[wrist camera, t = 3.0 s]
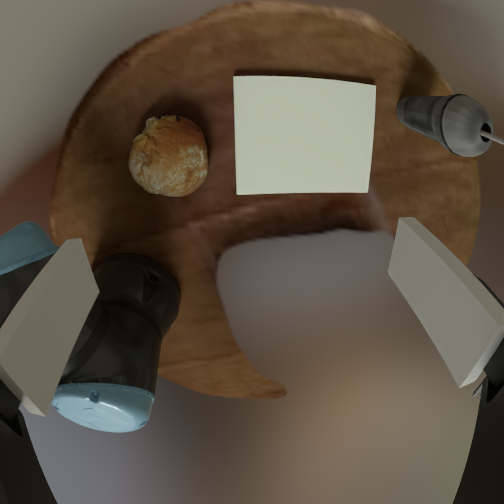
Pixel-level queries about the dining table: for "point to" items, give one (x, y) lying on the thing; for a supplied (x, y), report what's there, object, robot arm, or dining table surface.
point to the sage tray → (302, 134)
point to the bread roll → (169, 156)
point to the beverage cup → (450, 122)
